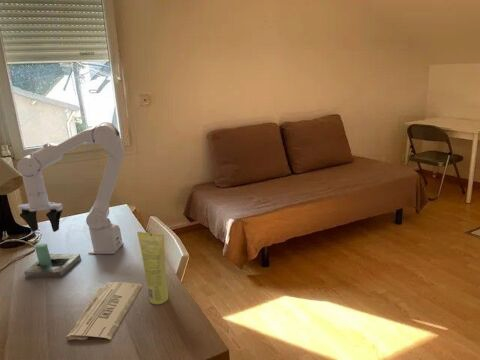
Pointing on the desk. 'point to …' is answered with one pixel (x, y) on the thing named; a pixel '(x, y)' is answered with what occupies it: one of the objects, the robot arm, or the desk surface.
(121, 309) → the newspaper
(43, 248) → the peg
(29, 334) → the desk surface
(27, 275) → the keyhole plate
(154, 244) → the tube
